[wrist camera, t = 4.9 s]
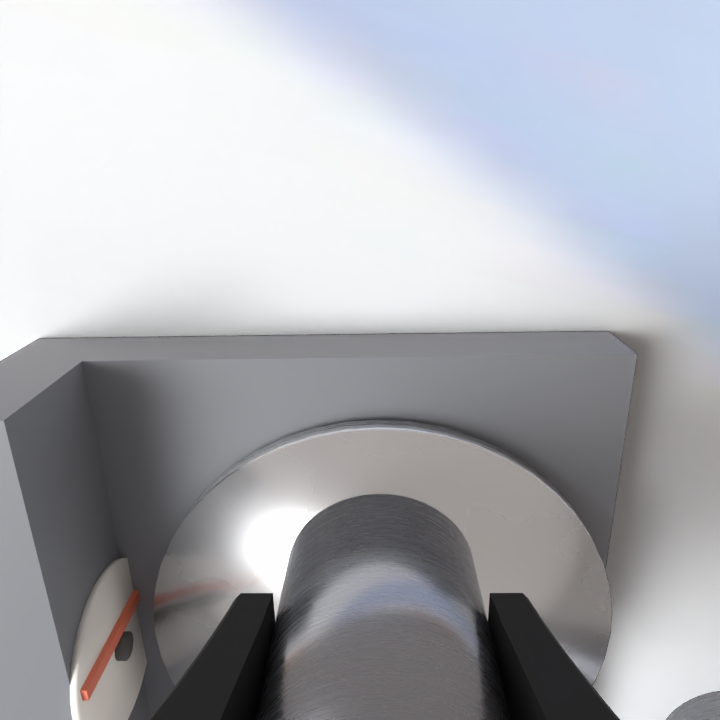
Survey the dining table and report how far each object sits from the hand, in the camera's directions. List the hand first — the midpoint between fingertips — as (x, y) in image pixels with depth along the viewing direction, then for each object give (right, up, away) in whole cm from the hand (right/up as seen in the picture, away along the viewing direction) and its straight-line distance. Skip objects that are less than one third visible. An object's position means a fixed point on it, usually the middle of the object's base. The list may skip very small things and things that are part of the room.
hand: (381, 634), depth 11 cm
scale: (-1, -1, +7) cm, 7 cm away
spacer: (0, +1, +2) cm, 2 cm away
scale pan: (0, -2, +5) cm, 5 cm away
